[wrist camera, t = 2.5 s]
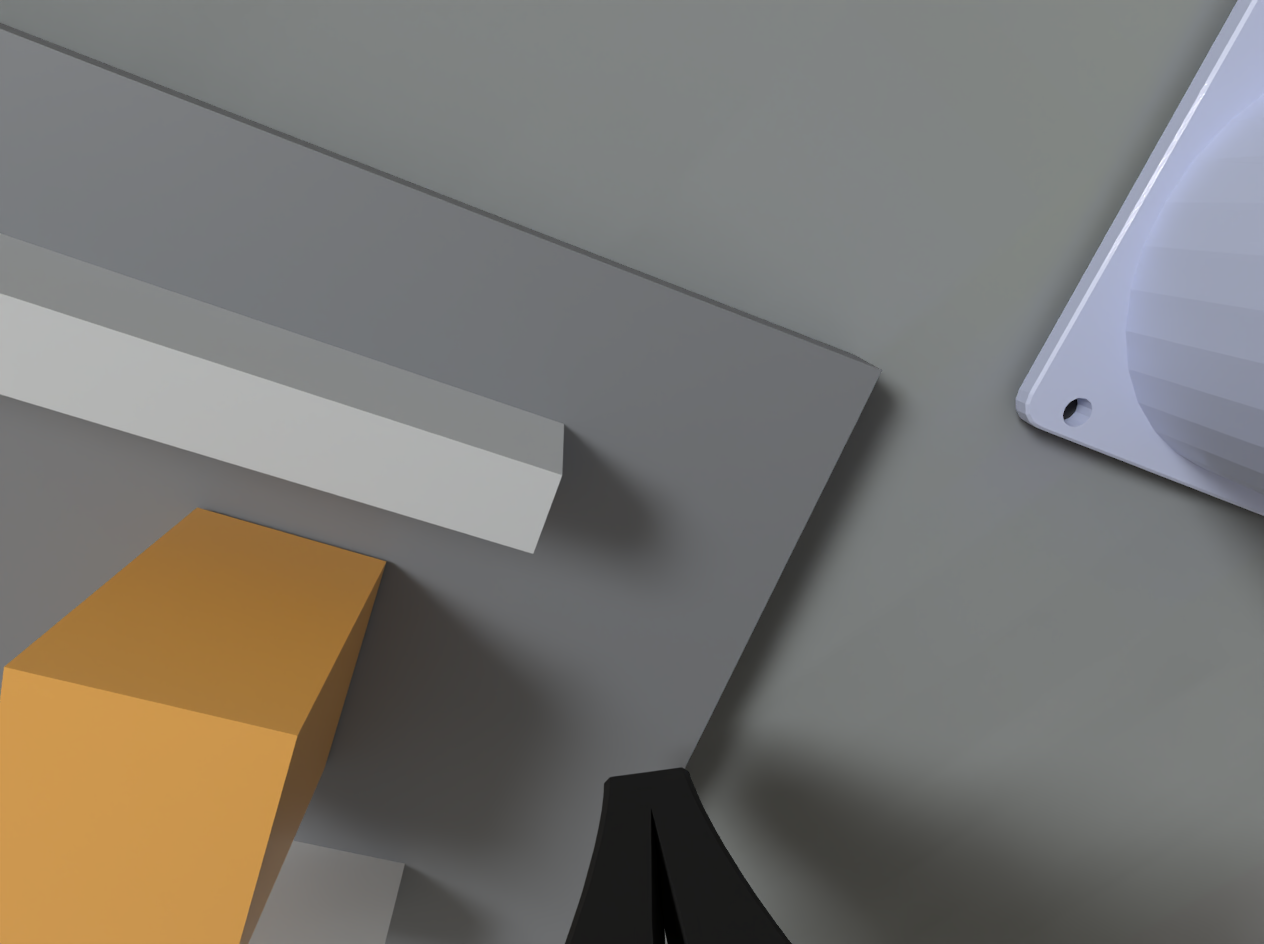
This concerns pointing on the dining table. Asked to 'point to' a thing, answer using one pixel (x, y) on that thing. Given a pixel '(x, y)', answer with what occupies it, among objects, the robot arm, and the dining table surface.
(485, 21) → the dining table surface
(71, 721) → the block
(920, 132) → the dining table surface
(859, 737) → the dining table surface
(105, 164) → the grey tray
